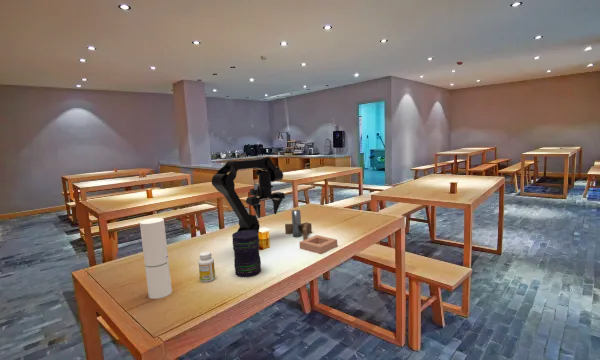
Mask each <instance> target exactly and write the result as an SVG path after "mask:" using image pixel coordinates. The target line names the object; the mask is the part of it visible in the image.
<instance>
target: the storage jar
mask: <svg viewBox="0 0 600 360" xmlns="http://www.w3.org/2000/svg"><path fill="white" fill-rule="evenodd" d="M237 231H238V230H237ZM237 231H235V232H234V233H231V234H232V235H231V237H232V249H233V253H234V254H233V256H234V258H233V261H234V264H233V265H234V271H235V274H234V275H235V276H236V275H237V276H236V277H238V278H243V277H244V278H245V277H246V278H252V277H256V276H257V275H259V274H260V273H261V272H262V268H261V266H262V262H261V256H260V245H261V244H260V237H259V233H258V231H255V230H242V231H238V232H237Z"/></svg>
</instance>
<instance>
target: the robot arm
mask: <svg viewBox="0 0 600 360" xmlns="http://www.w3.org/2000/svg"><path fill="white" fill-rule="evenodd" d="M246 169H256V171H255V173H254V175H255V176H258V178H257V179H258V185H257V187H256V189H255V188H250V189H249V195H250V196H248V197H246V199H245V204H247V205H249V206H252V208H253V209H254V212H255V214H256V215H257V216H256V215H254V214H250V213H249V212H248V211H247V209H246V207H245V205H244V204H243V202H242V200H241V199H240V197H239V195H238V193H237V191H236V190H235V182H234V181H235V179H236V177H237V174H238V171H239V170H246ZM283 178H284V173H283V171H282V170H281V169H280V166H275V164H274V162H273V160H272V159H271V157H270V156H258V157H254V158H253V159H243V160H241V159H240V160H228V161H226V163H225V164H224V165H223V166H222V167H221V168H220V169H218V170H217V171H216V173H215V174H214V175H213V176H212V178H211V185H212V186H213V187H214V189H215V190H217V192H218V193H220V194H221V195H223V196H224V198H225V200H226V201H227V203H228V204H229V206H230V208H231V209H232V211H233V212H234V214H235V216H236V217H237V218H238V227H239V228H238V229H237V230H236V232H238V231H242V230H255V231H258V234H259V232H260V226H261V225H260V221H259V220H258V218H259V219H260V218H261V204H260V202H263V201H268V200H271V201H272V206H273V214H274V215H276V214H277V212H278V209H279V208H280V206H281V203H282V202H283V201H284V199H286V194H285V193H284V192H282V191H276V192H275V191H274V192H272V188H274V185H273V184H272V183H275V182H278V181H282V180H283Z"/></svg>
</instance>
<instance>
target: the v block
mask: <svg viewBox="0 0 600 360" xmlns="http://www.w3.org/2000/svg"><path fill="white" fill-rule="evenodd" d="M284 224H285V226H284V228H285V229H284V231H285V235H293V228H292V223H284ZM312 228H313V227H312V223H310V222H307V221H306V222H301V233H302V238H303V240H306V239H308V236H309V235H310V234H312V233H313V231H312V230H313V229H312ZM303 240H302V241H303Z"/></svg>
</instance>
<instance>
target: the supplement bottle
mask: <svg viewBox="0 0 600 360" xmlns="http://www.w3.org/2000/svg"><path fill="white" fill-rule="evenodd" d="M214 261H215V260H214V258H213V257H212V251H202V252H200V253H199V260H198V262H197V263H198V264H197V265H198V273H199V280H200V282H204V283H207V282H211V281H213V280H215V278H216V270H215V262H214Z"/></svg>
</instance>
